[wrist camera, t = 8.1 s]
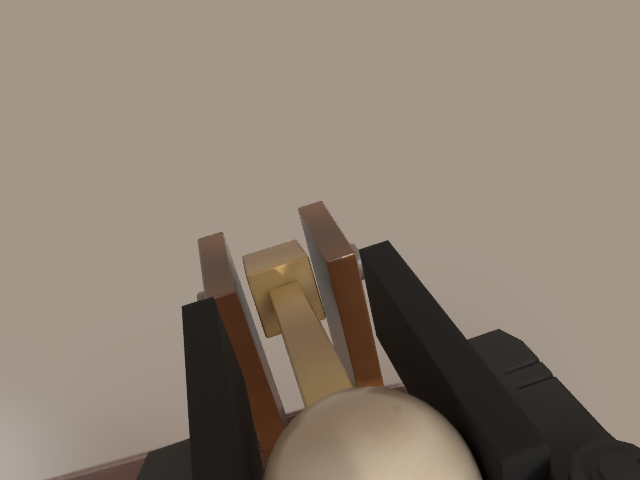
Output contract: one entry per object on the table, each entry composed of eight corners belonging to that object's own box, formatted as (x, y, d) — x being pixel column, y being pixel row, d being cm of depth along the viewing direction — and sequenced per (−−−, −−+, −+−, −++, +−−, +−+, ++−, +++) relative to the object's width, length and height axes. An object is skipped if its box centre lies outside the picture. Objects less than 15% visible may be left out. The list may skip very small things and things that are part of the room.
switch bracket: (458, 619, 24) (402, 292, 16) (328, 673, 24) (193, 362, 15) (380, 445, 33) (316, 172, 24) (283, 481, 32) (181, 212, 24)
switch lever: (555, 643, 8) (510, 428, 7) (314, 746, 8) (233, 532, 7) (333, 303, 23) (309, 218, 22) (247, 331, 22) (218, 247, 21)
